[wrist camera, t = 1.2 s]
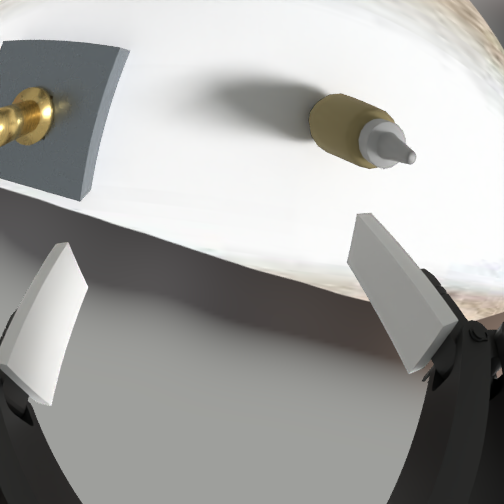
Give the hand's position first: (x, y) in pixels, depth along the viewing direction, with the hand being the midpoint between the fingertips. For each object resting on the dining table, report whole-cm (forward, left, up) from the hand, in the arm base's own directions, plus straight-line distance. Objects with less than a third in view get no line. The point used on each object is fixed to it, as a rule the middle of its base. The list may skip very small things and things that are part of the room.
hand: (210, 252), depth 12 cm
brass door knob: (-16, -19, -25) cm, 35 cm away
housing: (-16, -19, -26) cm, 35 cm away
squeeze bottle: (+3, +15, -26) cm, 30 cm away
